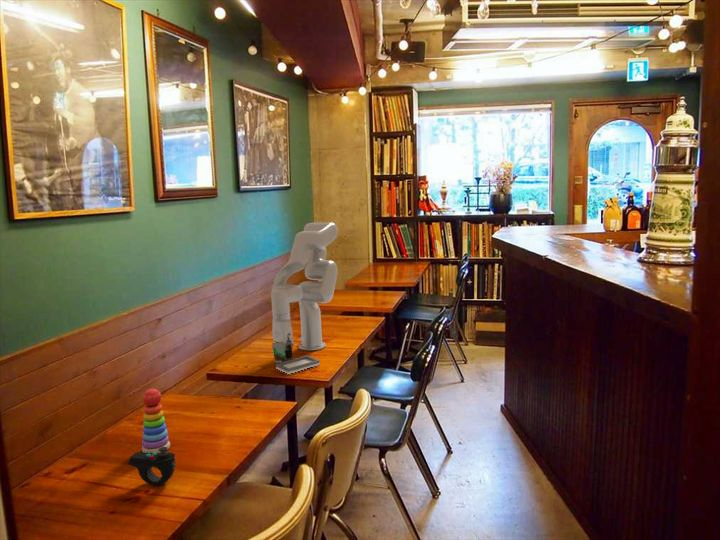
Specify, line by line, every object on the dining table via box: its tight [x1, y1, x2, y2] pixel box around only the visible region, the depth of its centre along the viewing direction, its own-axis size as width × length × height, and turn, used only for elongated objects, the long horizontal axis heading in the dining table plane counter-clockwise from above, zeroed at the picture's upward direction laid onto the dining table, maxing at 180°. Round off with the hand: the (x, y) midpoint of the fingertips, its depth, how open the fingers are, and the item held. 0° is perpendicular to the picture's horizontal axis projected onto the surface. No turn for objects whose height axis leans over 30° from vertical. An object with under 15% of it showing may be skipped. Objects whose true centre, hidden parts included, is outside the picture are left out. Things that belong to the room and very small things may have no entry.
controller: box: [128, 447, 177, 486], centre depth 144 cm, size 4×12×10 cm, turn 80°
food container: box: [271, 340, 293, 365], centre depth 240 cm, size 12×6×10 cm, turn 157°
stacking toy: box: [141, 388, 171, 453], centre depth 162 cm, size 8×8×19 cm
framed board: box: [275, 355, 321, 375], centre depth 232 cm, size 10×16×2 cm, turn 129°
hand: (284, 355), depth 241 cm, fingers open, 6 cm apart
